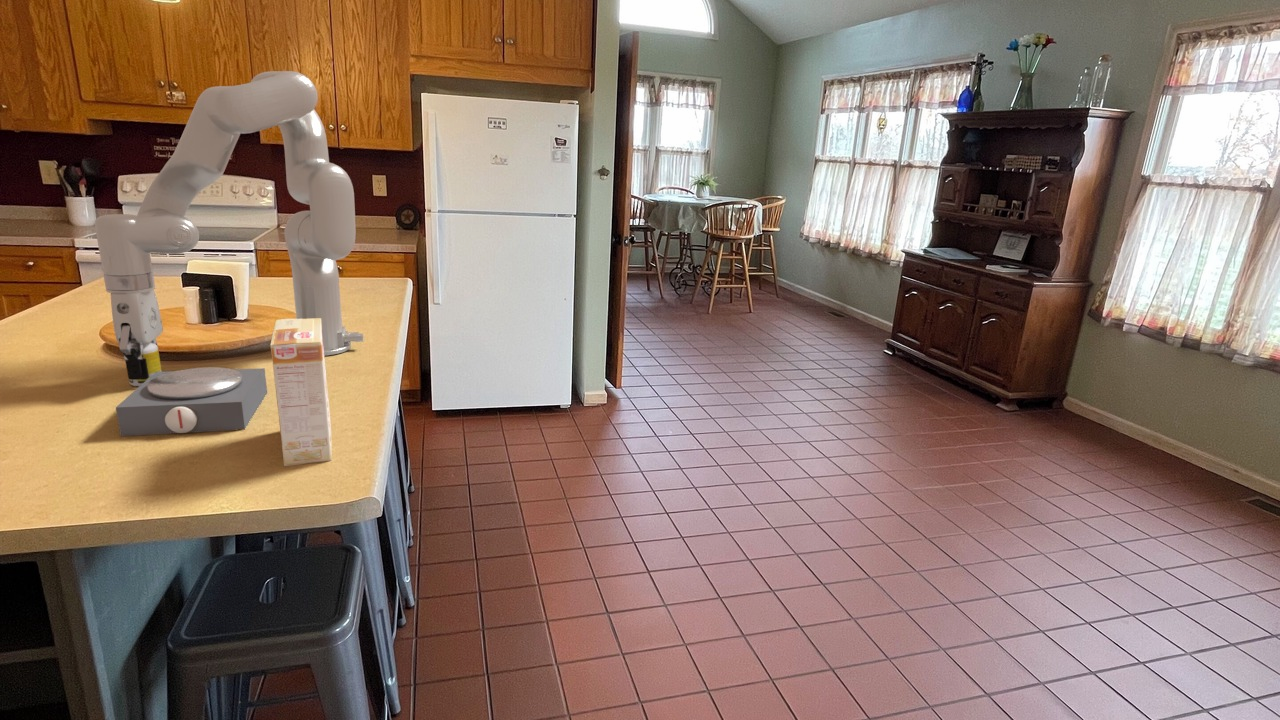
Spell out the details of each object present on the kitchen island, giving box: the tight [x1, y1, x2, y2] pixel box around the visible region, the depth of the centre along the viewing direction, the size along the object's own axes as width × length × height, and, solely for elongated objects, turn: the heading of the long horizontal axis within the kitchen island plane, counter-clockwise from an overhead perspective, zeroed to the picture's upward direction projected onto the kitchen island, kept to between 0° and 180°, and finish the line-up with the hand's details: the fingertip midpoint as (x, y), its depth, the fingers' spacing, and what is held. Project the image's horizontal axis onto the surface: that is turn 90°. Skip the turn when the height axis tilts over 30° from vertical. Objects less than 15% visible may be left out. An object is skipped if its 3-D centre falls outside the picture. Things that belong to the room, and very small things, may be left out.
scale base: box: [115, 368, 268, 437], centre depth 123 cm, size 18×19×5 cm
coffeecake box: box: [269, 318, 333, 467], centre depth 111 cm, size 15×7×20 cm, turn 23°
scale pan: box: [147, 366, 242, 399], centre depth 122 cm, size 14×14×1 cm
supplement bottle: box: [128, 340, 163, 387], centre depth 135 cm, size 5×5×10 cm
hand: (144, 372), depth 136 cm, fingers closed on supplement bottle, 5 cm apart
